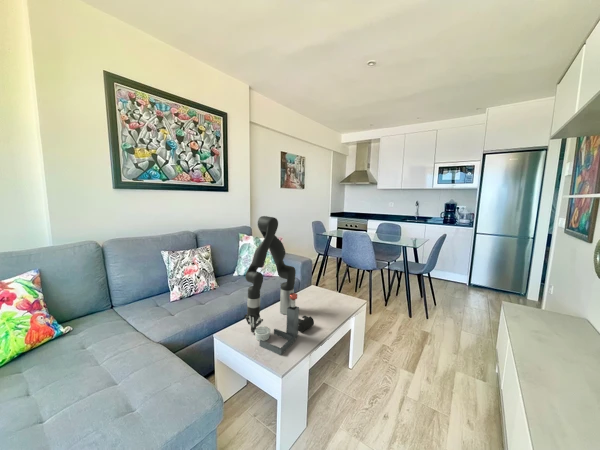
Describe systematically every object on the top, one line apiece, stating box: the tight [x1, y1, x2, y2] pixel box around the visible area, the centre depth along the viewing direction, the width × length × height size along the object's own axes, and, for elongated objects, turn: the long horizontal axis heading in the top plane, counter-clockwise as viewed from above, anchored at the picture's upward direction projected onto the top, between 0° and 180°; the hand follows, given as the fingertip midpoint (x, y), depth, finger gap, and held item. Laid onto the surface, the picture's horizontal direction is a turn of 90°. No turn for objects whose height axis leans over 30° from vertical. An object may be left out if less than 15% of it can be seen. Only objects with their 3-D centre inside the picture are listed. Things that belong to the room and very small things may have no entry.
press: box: [259, 305, 300, 356], centre depth 136 cm, size 19×14×18 cm
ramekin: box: [254, 325, 271, 342], centre depth 140 cm, size 9×9×4 cm
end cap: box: [298, 315, 315, 333], centre depth 150 cm, size 10×7×7 cm
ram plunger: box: [290, 292, 298, 310], centre depth 139 cm, size 4×4×11 cm
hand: (253, 331), depth 144 cm, fingers closed
